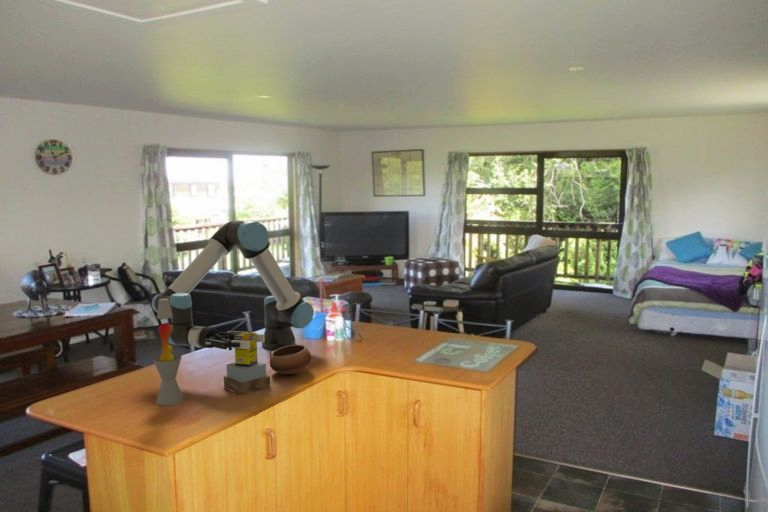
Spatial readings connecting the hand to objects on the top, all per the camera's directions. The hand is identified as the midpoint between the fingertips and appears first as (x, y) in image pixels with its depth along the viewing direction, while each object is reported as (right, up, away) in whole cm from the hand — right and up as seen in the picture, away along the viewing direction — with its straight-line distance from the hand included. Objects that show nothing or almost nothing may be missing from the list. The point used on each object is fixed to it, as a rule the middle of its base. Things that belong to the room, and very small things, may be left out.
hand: (256, 341), depth 208 cm
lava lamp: (-27, -19, -9) cm, 34 cm away
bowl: (+9, -15, +19) cm, 26 cm away
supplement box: (-4, -8, +3) cm, 10 cm away
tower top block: (-4, -13, +3) cm, 14 cm away
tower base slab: (-4, -17, +4) cm, 18 cm away
